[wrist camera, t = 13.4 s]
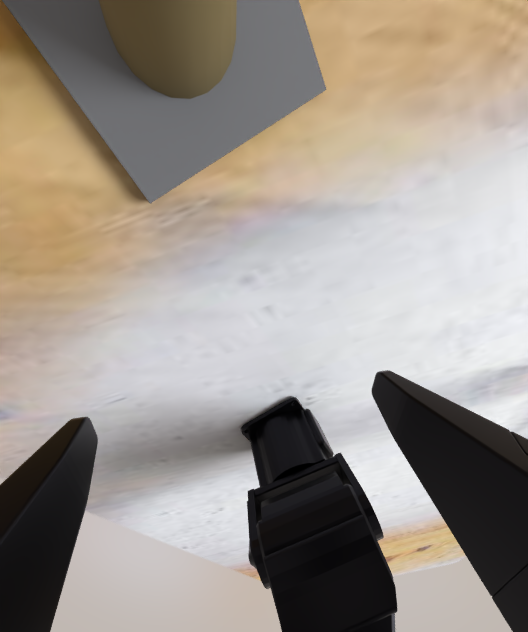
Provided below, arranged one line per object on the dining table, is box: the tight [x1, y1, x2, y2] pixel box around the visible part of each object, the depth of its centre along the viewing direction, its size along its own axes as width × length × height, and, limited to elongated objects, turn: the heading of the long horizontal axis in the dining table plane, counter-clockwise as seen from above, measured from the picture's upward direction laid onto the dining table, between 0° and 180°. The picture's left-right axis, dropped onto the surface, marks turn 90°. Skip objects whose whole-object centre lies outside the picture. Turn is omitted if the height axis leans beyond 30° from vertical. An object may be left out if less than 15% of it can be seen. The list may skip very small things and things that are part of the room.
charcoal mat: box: [2, 0, 326, 203], centre depth 13 cm, size 12×12×1 cm
